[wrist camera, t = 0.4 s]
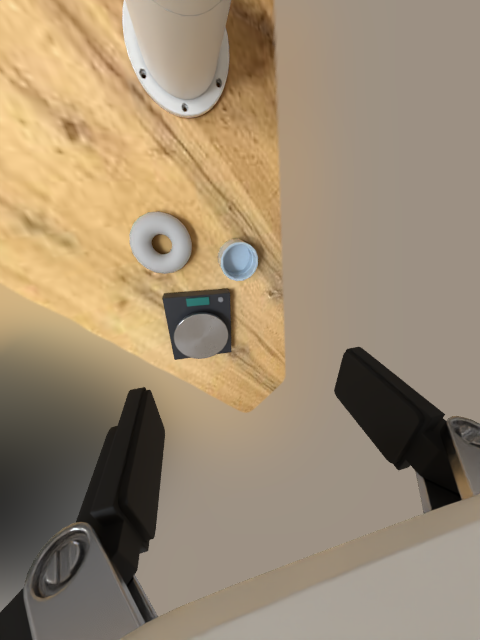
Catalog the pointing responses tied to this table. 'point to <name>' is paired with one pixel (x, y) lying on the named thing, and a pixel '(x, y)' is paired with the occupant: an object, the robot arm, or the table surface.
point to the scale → (193, 303)
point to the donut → (167, 226)
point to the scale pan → (200, 335)
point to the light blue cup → (237, 259)
